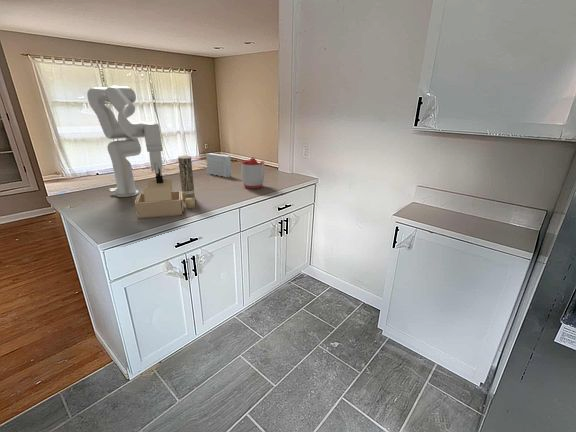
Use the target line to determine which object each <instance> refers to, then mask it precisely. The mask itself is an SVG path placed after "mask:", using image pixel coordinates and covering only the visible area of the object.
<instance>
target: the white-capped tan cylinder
mask: <svg viewBox="0 0 576 432" xmlns="http://www.w3.org/2000/svg"><path fill="white" fill-rule="evenodd" d="M195 201H196V200H195V199H194V198H192V197H190V198H186V199H185V200H184V202H185V209H188V210H189V209H190V210H191V209H194V208H196V202H195Z"/></svg>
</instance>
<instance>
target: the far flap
mask: <svg viewBox="0 0 576 432" xmlns="http://www.w3.org/2000/svg"><path fill="white" fill-rule="evenodd" d="M146 182H147V188H160V187H171V192H173V183H172V178H163V183H159V184H157V182H156V179H147V180H146Z"/></svg>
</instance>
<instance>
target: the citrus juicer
mask: <svg viewBox="0 0 576 432" xmlns="http://www.w3.org/2000/svg"><path fill="white" fill-rule="evenodd" d="M240 163H241V164H240V165H241V179H242V184H243V186H244V188H246V189H253V190H257V189H260V188H262V186H263V185H264V180H265V161H264V160H262V161H260V163H259V162H258V161H257V160H256V158H255V157H251V158H250V159H246V160H242V161H241V162H240Z"/></svg>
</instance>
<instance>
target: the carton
mask: <svg viewBox="0 0 576 432" xmlns="http://www.w3.org/2000/svg"><path fill="white" fill-rule="evenodd" d="M171 198H172V200H166V201H152V202H145V198H144V192H143V193H139V194H137V196H136V198H135V200H134V207H135V213H136V216H138V217H137V218H138V220H139V219H142V220H143V219H151V218H153V219H154V218H162V217H174V216H182V215H183V212H184V200H183V196H182V191H180V190H177V191H171Z"/></svg>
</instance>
